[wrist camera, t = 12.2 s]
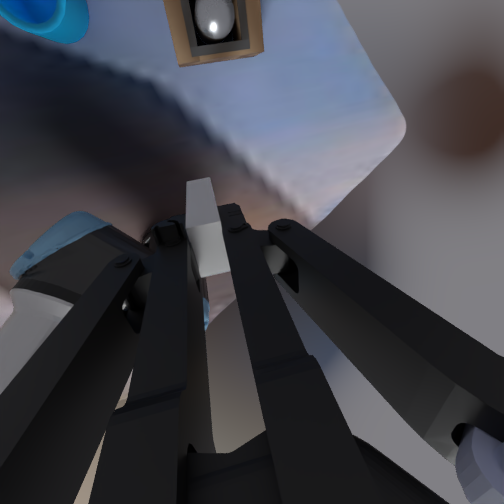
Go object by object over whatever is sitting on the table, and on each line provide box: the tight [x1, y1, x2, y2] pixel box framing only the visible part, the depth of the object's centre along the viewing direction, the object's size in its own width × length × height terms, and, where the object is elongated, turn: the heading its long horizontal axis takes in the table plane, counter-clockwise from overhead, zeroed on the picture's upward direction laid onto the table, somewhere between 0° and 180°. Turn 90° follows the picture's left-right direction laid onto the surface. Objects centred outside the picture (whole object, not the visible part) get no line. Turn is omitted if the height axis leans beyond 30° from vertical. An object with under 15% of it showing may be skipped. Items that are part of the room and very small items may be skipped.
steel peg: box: [194, 0, 235, 45], centre depth 35 cm, size 5×5×7 cm
